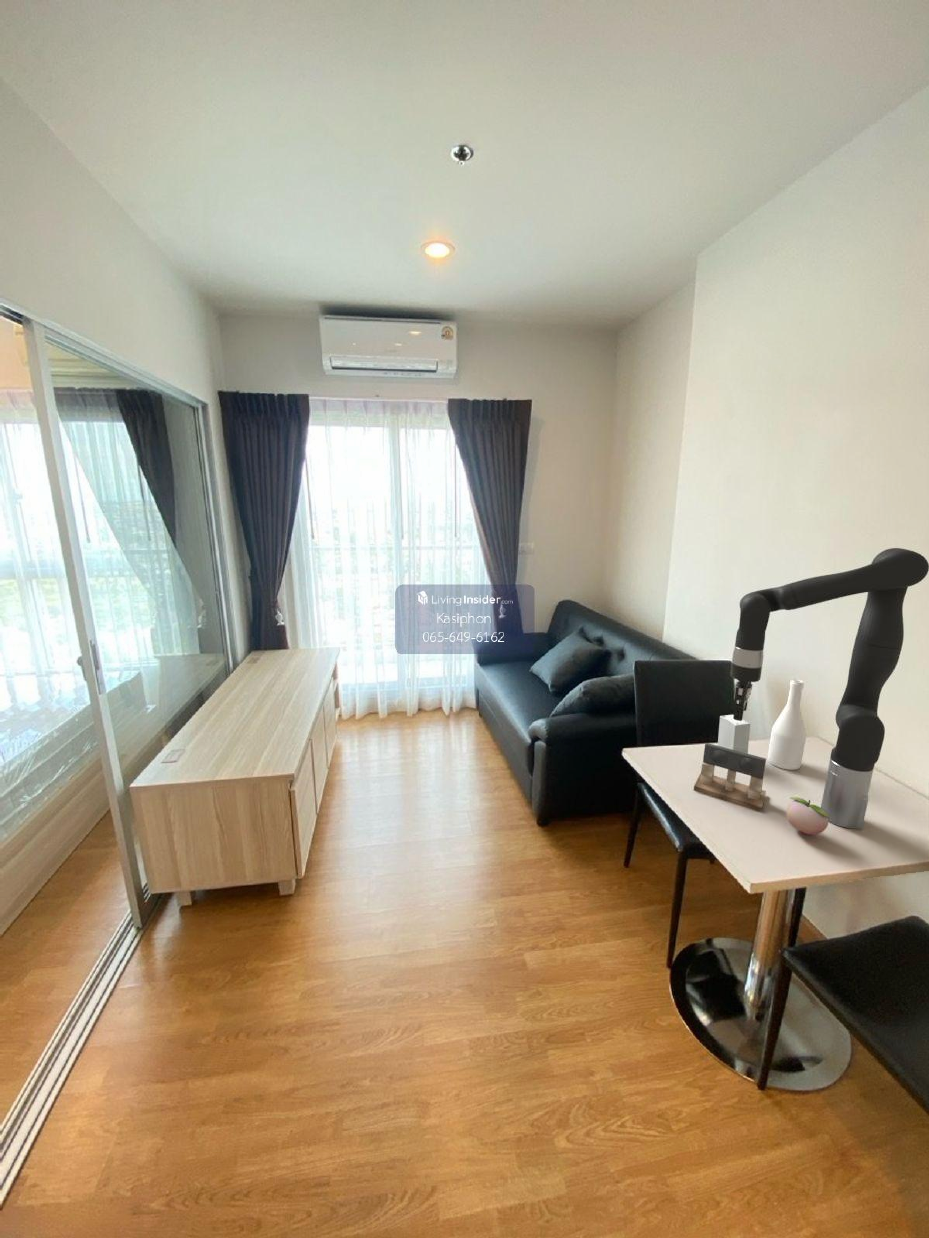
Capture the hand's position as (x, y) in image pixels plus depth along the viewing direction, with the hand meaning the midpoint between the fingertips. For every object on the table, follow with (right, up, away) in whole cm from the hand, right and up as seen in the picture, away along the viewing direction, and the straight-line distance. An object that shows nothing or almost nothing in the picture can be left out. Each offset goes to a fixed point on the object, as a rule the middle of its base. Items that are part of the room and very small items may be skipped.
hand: (739, 714), depth 139 cm
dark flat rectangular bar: (0, -17, +4) cm, 18 cm away
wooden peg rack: (0, -25, +6) cm, 26 cm away
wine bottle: (+28, -21, +22) cm, 42 cm away
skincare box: (+12, -21, +26) cm, 35 cm away
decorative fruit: (+10, -30, -12) cm, 33 cm away
